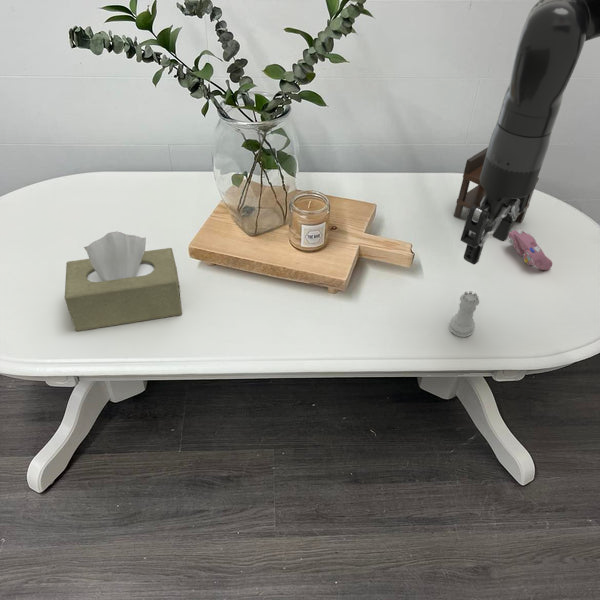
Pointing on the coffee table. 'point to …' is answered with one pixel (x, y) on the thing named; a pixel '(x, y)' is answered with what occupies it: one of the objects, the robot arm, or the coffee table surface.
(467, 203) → the stand
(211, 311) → the coffee table surface
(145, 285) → the tissue box
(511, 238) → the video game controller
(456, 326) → the rook chess piece
